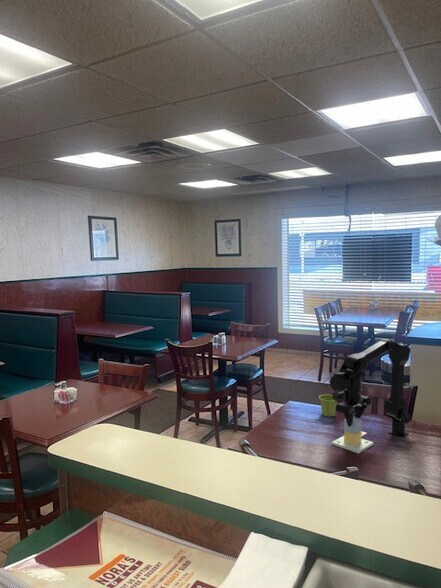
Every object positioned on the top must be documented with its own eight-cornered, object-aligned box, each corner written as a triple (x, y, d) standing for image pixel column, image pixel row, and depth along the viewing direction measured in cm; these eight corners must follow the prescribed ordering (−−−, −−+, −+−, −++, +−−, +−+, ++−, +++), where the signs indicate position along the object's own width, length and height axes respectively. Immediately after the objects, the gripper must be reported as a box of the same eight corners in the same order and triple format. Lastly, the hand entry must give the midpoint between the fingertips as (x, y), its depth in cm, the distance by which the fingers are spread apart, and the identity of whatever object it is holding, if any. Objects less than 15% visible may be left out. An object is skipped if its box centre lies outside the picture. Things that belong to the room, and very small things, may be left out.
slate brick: (361, 430, 179) (361, 418, 179) (355, 433, 176) (355, 421, 176) (350, 427, 183) (350, 415, 183) (344, 430, 179) (344, 418, 179)
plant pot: (340, 413, 216) (341, 396, 215) (334, 419, 208) (335, 401, 207) (322, 410, 221) (322, 393, 220) (316, 415, 213) (316, 398, 212)
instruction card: (356, 430, 195) (356, 429, 195) (367, 433, 191) (367, 432, 191) (349, 433, 191) (349, 433, 191) (360, 437, 187) (360, 436, 187)
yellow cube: (361, 442, 180) (361, 430, 179) (355, 445, 176) (355, 433, 176) (350, 438, 183) (350, 427, 183) (344, 441, 180) (344, 430, 180)
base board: (347, 436, 188) (347, 433, 188) (373, 444, 180) (373, 441, 180) (331, 444, 180) (331, 441, 180) (358, 453, 171) (358, 450, 171)
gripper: (348, 378, 190) (347, 413, 191) (324, 387, 177) (323, 425, 179) (372, 384, 182) (371, 420, 183) (348, 393, 169) (348, 432, 171)
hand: (353, 424), depth 179 cm, fingers open, 6 cm apart
